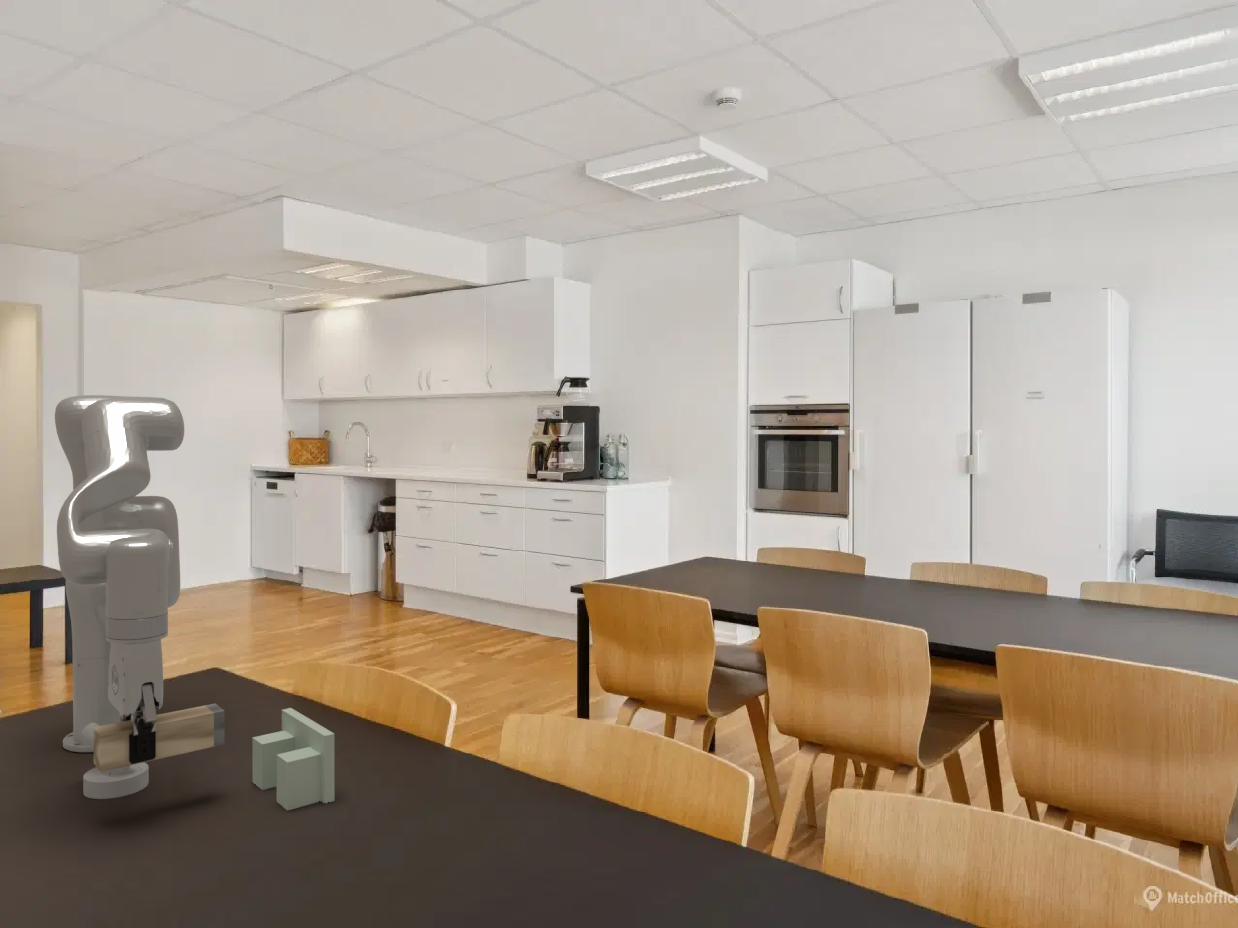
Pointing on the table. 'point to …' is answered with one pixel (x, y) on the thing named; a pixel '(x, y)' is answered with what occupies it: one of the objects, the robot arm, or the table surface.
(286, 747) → the sage panel with pillars
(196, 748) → the rail
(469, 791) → the table surface
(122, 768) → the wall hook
